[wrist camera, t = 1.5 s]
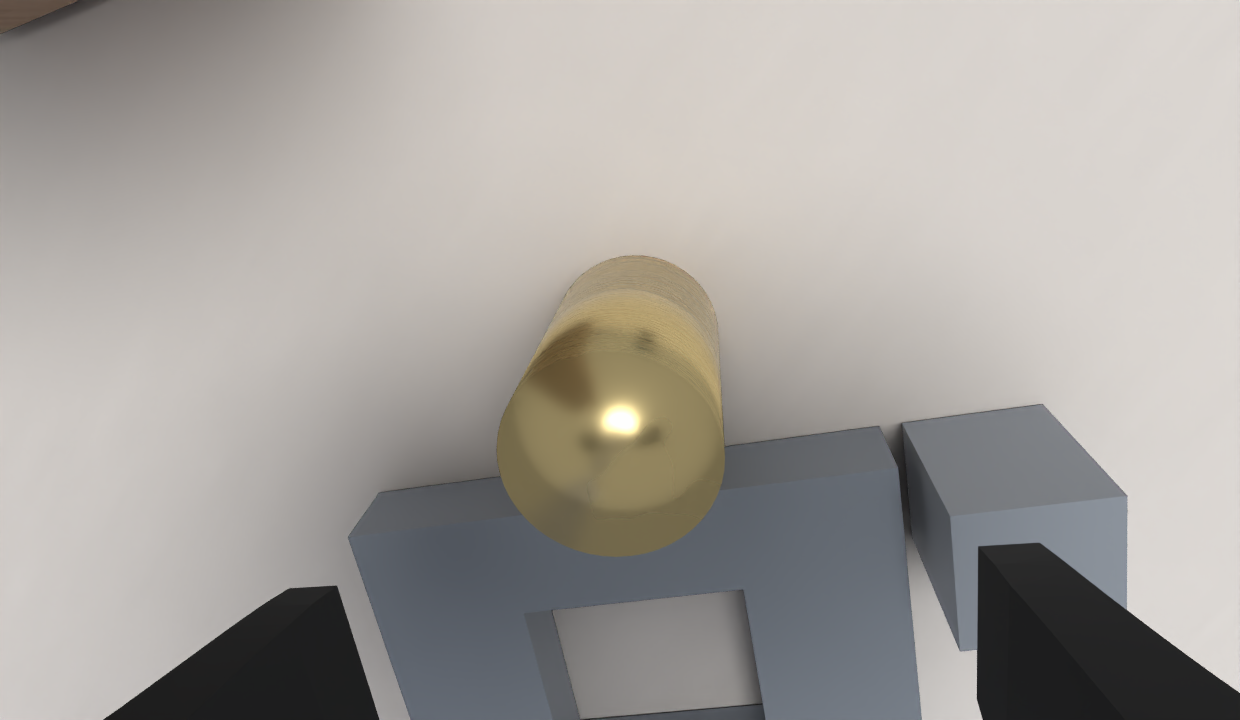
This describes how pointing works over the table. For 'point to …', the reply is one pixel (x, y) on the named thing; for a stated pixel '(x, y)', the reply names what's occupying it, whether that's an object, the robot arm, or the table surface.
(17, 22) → the block
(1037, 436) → the grey holder tray
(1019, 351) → the table surface
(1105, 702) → the robot arm
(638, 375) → the cylinder
